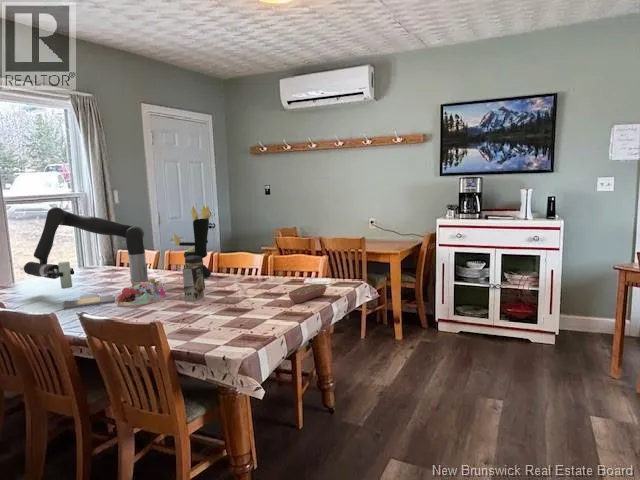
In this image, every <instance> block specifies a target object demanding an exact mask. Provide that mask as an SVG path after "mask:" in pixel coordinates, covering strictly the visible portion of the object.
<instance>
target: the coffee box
mask: <svg viewBox="0 0 640 480" xmlns="http://www.w3.org/2000/svg"><path fill="white" fill-rule="evenodd" d="M182 279H183V293H184V301H186V302H197V301H198V300H200V299H202V298H204V297H205V288H204V287H203V274H202V266H189V267H186V266H185V267H184V268H182Z"/></svg>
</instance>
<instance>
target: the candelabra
mask: <svg viewBox="0 0 640 480" xmlns="http://www.w3.org/2000/svg"><path fill="white" fill-rule="evenodd" d="M209 207H210V205H209V204H207V205H206V206H205V204H204V203H203V204H202V206H201V209H200V212H201V213H200V216H201V218H199V214H198V212H197V211H196V208H195V207H194V205H192V206H191V210H190V213H191V219H192V220H193V221H192V229H193V237H194V239H193V240H194V242H191V241H190V242H187V241H185V242H184V241H183V242H182V241H181V238H180V237H179V236H178V235H176V234H175V233H173V241H174V243H175V246H176V247H177V246H182V247H189V248H188V249H186V251H184V253H183V257H184V259H185V258H186V257H187V256H192V255H194V256H201V257H202V258H203V259H204V258H206V257H207V256H208V250H207V249H208V248H207V246H208V243H209V241H208V235H209V234H208V233H209V226H210V218H211V216H212V215H211V214H212V213H211V210H210V208H209ZM211 274H212V272H211V270H210V269H209V268H208V266H205V264H203V275H204V279H205V278H209V277H210V276H211Z"/></svg>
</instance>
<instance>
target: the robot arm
mask: <svg viewBox="0 0 640 480" xmlns="http://www.w3.org/2000/svg"><path fill="white" fill-rule="evenodd" d="M59 226H65V227H72V228H77V229H79V230H82V231H85V232H89V233H93V234H98V235H104V236H116V237H122V238H124V239H125V243H126V250H127V254H128V255H127V257H128V263H129V264H128V266H129V275H130V283H131V284H132V283H134V282H138V283H140V282H149V277H148V267H147V260H146V251H145V250H146V249H145V246H144V236H145V231H144V229H143V228H141V227H140V226H136V225H130V224H123V223H118V222H115V221H113V220H109V219H105V218H102V217H97V216H93V215H81V214H75V213H72V212H70V211H66V210H64V209H62V208H60V207H57V206H56V207H55V206H54V207H52V208H50V209H49V210H48V211H47V213H46V218H45V223H44V227H43V230H42V233H41V236H40V239H39V241H38V243H37V245H36V247H35V250H34V252H33V257H34V258H35V259H37V260H39V262H36V261H27V262H26V263H25V264H24V266H23V271H24V273H25V274H27V275H29V276H34V277H38V278H41V277H42V278H46V279H52V280H56V279H58V278H59V279H60V277H63V273H62V272H59V266H58V264H54V263H53V264H52V263H48V260H49V256H50V253H51V251H52V248H53V246H54V241H55V240H54V239H55V236H56V233H57V230H58V228H59ZM70 272H71V276H72V275H74V274H75V270H74V268H73V267H71V266H70Z"/></svg>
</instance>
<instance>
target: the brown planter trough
mask: <svg viewBox="0 0 640 480" xmlns="http://www.w3.org/2000/svg"><path fill="white" fill-rule="evenodd" d="M326 291H327V285H326V284H319V283H318V284H317V283H316V284H310V285H306V286H302V287H299V288H296V289H294V290H292V291H289V292H288V297H289V299H290V300H291V301H292V302H293V303H294V304H302V303H304V302H306V301H309V300H311V299H314V298H315V299H316V298H318V297H321V296H323V295H324V294H325V293H326Z"/></svg>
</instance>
